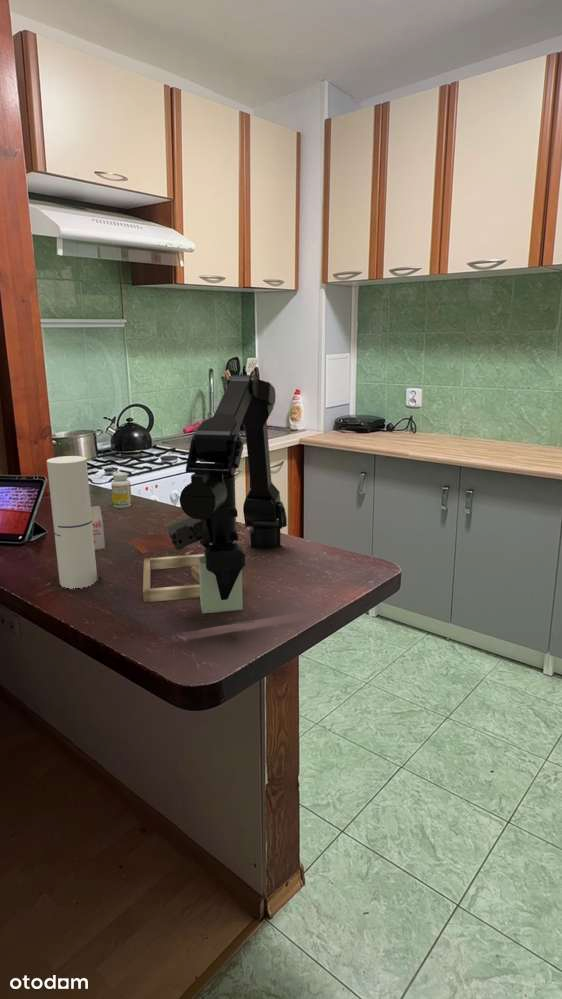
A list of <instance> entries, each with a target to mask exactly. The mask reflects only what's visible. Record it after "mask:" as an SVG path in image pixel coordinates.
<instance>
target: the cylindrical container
mask: <svg viewBox="0 0 562 999" xmlns="http://www.w3.org/2000/svg"><path fill="white" fill-rule="evenodd" d="M46 466H47V475H48V484H49V485H48V486H49V493H50V494H49V495H50V504H51V514H52V520H53V521H52V523H53V531H54V532H53V533H54V541H55V550H56V560H57V561H56V562H57V570H58V578H59V579H58V580H59V586H60V585H61V586H62V587H61V586H60V587H61V588H63V587H65V588H64V589H66V588H69V589H68V590H76V589H75V588H80V589H84V588H83V587H85V588H88V586H89V587H91V586H93V585H95V584H96V583H97V582H98V572H97V562H96V553H95V552H96V551H95V549H94V538H93V526H92V515H91V507H92V505H91V496H90V483H89V482H90V481H89V473H88V472H89V471H88V470H89V469H88V462H87V457H86V456H83V455H82V456H81V455H66V456H65V455H63V456H56V457H52V458H48V459H47V460H46ZM96 581H97V582H96ZM95 582H96V583H95ZM94 583H95V584H94ZM92 584H93V585H92ZM73 588H74V589H73Z"/></svg>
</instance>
